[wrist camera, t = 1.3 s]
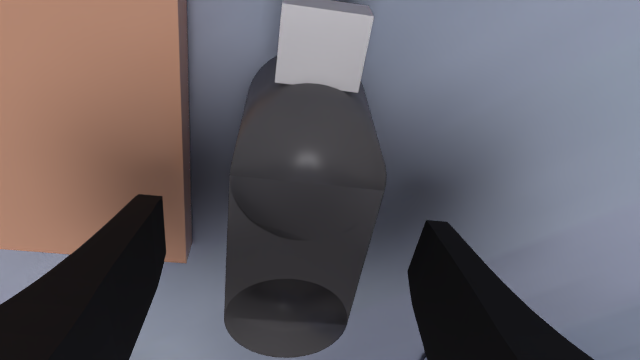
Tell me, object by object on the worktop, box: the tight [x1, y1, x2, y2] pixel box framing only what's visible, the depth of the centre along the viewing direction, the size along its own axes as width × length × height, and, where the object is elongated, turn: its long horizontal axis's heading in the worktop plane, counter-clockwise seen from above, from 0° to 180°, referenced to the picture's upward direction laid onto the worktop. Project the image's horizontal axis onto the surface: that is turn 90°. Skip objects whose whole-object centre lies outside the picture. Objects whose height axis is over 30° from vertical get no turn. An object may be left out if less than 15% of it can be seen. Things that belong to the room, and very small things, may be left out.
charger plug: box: [224, 0, 386, 358], centre depth 13 cm, size 10×4×4 cm, turn 172°
